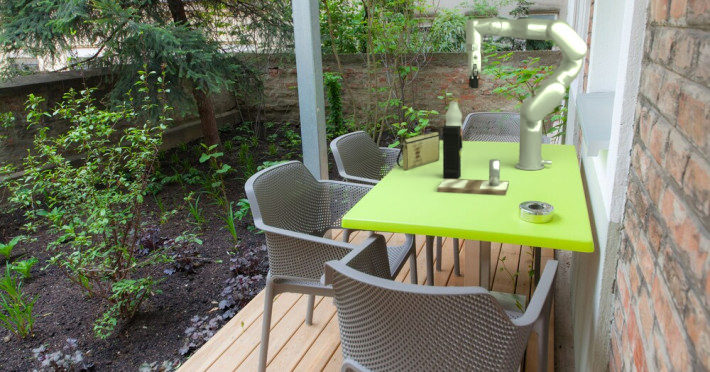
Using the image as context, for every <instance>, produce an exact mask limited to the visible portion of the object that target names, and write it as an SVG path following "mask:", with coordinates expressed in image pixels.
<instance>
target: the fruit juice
mask: <svg viewBox="0 0 710 372" xmlns="http://www.w3.org/2000/svg"><path fill="white" fill-rule="evenodd" d="M448 103H449V106H448V108H447V111H446V113H445V115H444V116H445V123H444V125H446V126H461V135H462V136H463V122H462V119H463V113H462V110H461V109H460V107H459V99H457V98H453V99H449V100H448ZM462 151H463V148H462V149H461V152H462Z"/></svg>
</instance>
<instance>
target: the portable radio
mask: <svg viewBox="0 0 710 372" xmlns="http://www.w3.org/2000/svg"><path fill="white" fill-rule="evenodd" d="M442 137H443V138H442V169H443V170H442V173H443V174H442V177H443V180H444V179H445V178H446V179H461V177H462V167H461V166H462V165H461V163H462V160H461V158H462V156H461V154H462V151H461V149H462V150H463V134H462V135H461V126H446V125H445V124H444V125H443V127H442Z"/></svg>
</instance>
